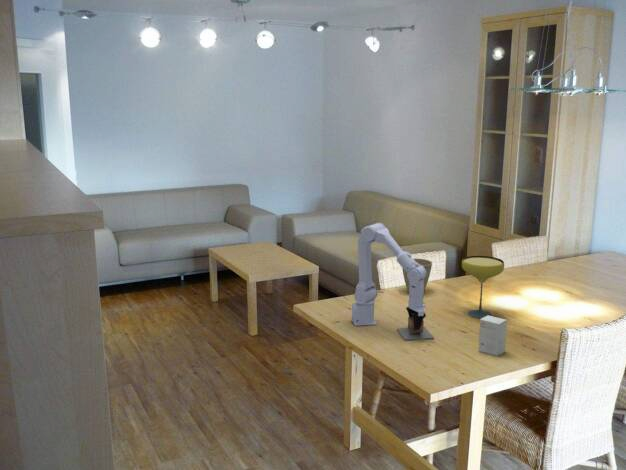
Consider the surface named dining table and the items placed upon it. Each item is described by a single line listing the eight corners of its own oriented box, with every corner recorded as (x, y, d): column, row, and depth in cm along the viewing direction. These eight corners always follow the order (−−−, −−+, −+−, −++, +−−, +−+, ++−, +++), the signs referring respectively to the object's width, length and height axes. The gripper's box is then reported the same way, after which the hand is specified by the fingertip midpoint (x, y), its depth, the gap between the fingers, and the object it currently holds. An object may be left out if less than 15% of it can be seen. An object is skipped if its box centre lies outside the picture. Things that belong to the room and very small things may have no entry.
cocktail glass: (500, 309, 286) (504, 257, 280) (501, 323, 269) (504, 267, 263) (460, 306, 290) (462, 254, 285) (458, 319, 273) (461, 264, 268)
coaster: (404, 340, 250) (404, 339, 250) (396, 330, 261) (396, 328, 261) (433, 339, 251) (433, 337, 251) (424, 328, 263) (424, 326, 263)
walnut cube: (411, 333, 253) (411, 321, 252) (407, 328, 258) (408, 317, 257) (423, 332, 254) (423, 321, 253) (419, 328, 259) (419, 316, 258)
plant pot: (433, 297, 303) (434, 266, 300) (402, 297, 304) (403, 265, 300) (428, 288, 318) (429, 258, 314) (399, 288, 318) (400, 258, 315)
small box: (505, 351, 239) (507, 319, 236) (497, 356, 234) (499, 324, 231) (485, 346, 244) (487, 314, 241) (477, 351, 240) (479, 318, 237)
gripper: (431, 300, 246) (430, 332, 249) (420, 289, 260) (419, 320, 263) (414, 301, 245) (413, 333, 248) (403, 290, 259) (403, 320, 262)
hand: (415, 326), depth 256 cm, fingers closed on walnut cube, 5 cm apart
